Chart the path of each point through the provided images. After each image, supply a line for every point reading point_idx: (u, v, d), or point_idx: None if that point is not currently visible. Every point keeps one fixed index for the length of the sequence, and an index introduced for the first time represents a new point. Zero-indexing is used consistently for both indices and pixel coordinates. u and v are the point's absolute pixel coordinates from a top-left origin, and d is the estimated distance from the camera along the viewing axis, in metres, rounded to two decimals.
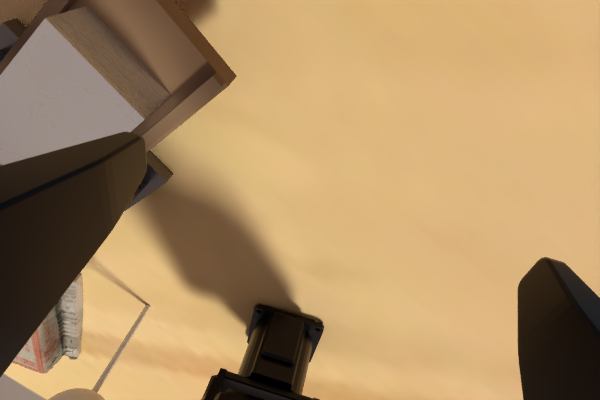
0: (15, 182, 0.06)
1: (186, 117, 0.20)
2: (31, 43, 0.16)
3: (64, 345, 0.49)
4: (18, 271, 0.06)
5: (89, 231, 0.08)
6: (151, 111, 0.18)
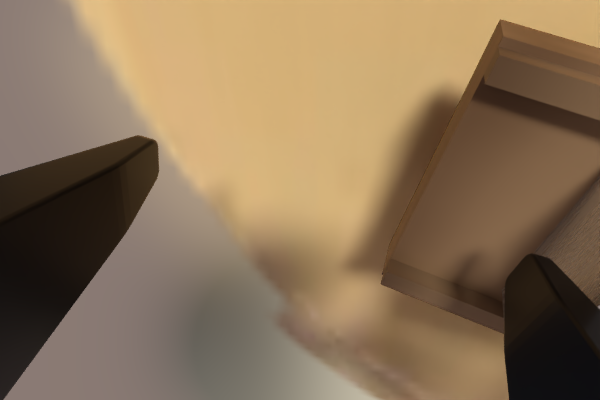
0: (33, 188, 0.06)
1: None
2: None
3: None
4: (35, 276, 0.06)
5: (103, 235, 0.08)
6: None
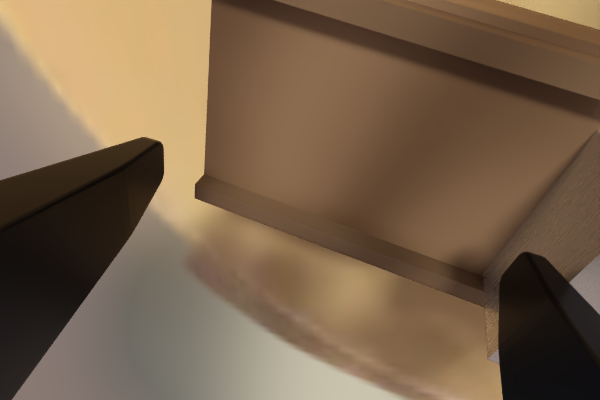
0: (40, 190, 0.06)
1: None
2: None
3: None
4: (42, 279, 0.06)
5: (109, 237, 0.08)
6: None
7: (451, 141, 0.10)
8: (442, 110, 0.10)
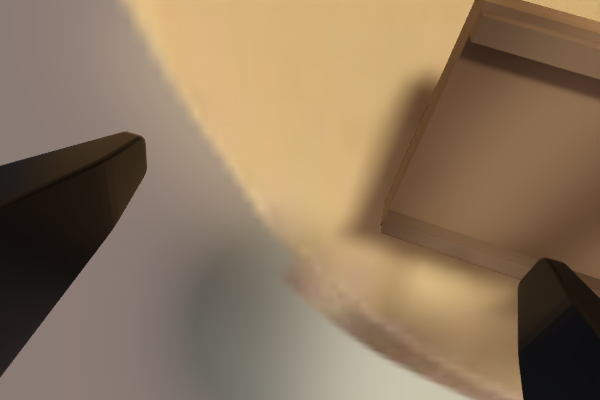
0: (15, 182, 0.06)
1: None
2: None
3: None
4: (18, 271, 0.06)
5: (89, 231, 0.08)
6: None
7: None
8: None
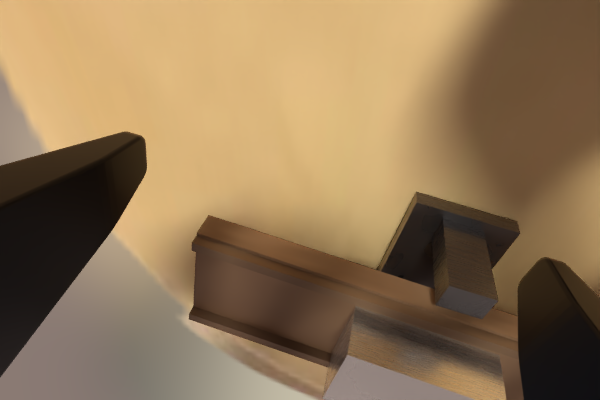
0: (15, 182, 0.06)
1: (248, 250, 0.21)
2: None
3: None
4: (18, 271, 0.06)
5: (89, 231, 0.08)
6: (349, 341, 0.20)
7: (304, 304, 0.23)
8: (297, 294, 0.22)
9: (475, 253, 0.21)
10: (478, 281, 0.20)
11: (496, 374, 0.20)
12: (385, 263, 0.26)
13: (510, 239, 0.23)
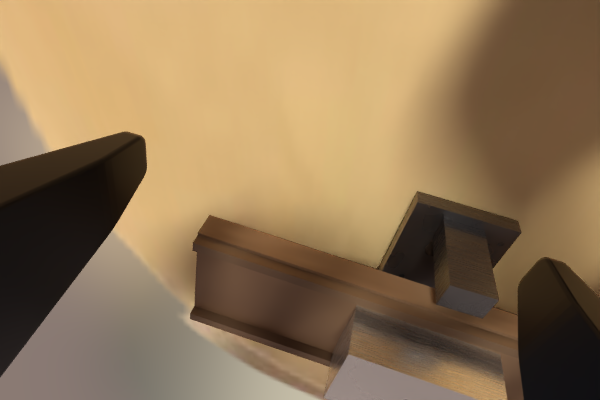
0: (15, 182, 0.06)
1: (248, 250, 0.21)
2: None
3: None
4: (18, 271, 0.06)
5: (89, 231, 0.08)
6: (350, 341, 0.20)
7: (305, 303, 0.23)
8: (298, 293, 0.22)
9: (476, 252, 0.21)
10: (479, 280, 0.20)
11: (497, 373, 0.21)
12: (386, 262, 0.26)
13: (511, 238, 0.23)
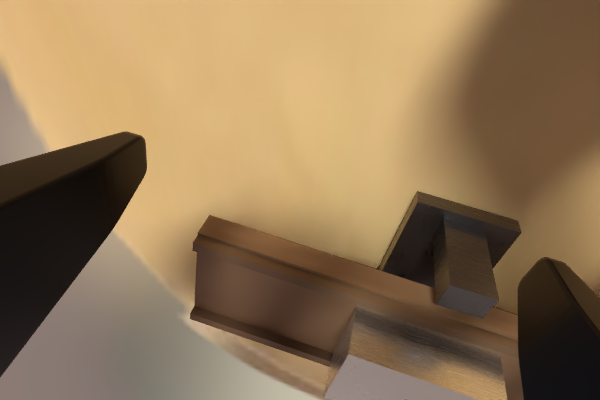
0: (15, 182, 0.06)
1: (248, 250, 0.21)
2: None
3: None
4: (18, 271, 0.06)
5: (89, 231, 0.08)
6: (350, 341, 0.20)
7: (305, 303, 0.23)
8: (298, 293, 0.22)
9: (476, 252, 0.21)
10: (479, 280, 0.20)
11: (497, 373, 0.21)
12: (386, 262, 0.26)
13: (511, 238, 0.23)
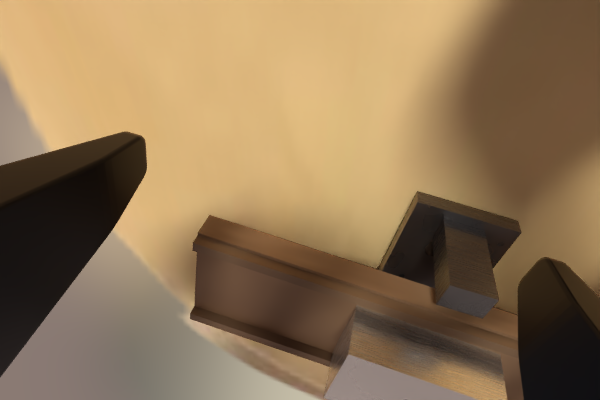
0: (15, 182, 0.06)
1: (248, 250, 0.21)
2: None
3: None
4: (18, 271, 0.06)
5: (89, 231, 0.08)
6: (350, 341, 0.20)
7: (305, 303, 0.23)
8: (298, 293, 0.22)
9: (476, 252, 0.21)
10: (479, 280, 0.20)
11: (497, 373, 0.21)
12: (386, 262, 0.26)
13: (511, 238, 0.23)
